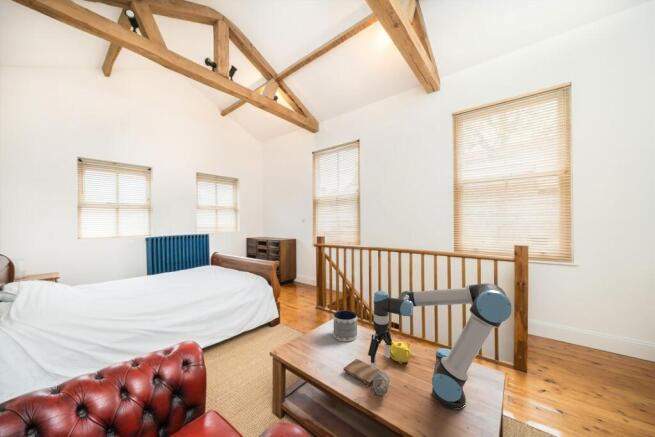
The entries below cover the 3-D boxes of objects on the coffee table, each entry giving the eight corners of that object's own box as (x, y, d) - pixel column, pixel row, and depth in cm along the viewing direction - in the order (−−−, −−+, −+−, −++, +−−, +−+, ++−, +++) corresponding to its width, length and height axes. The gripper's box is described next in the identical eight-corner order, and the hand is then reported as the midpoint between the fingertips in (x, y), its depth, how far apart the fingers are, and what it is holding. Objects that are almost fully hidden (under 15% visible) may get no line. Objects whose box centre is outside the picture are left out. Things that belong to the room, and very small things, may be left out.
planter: (350, 344, 171) (350, 321, 171) (329, 337, 181) (329, 316, 181) (361, 334, 186) (361, 313, 186) (340, 328, 196) (340, 308, 196)
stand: (382, 376, 137) (382, 371, 137) (369, 388, 127) (369, 382, 127) (356, 363, 149) (356, 358, 149) (343, 373, 139) (343, 368, 139)
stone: (368, 399, 119) (368, 379, 119) (375, 381, 132) (375, 363, 132) (386, 404, 116) (386, 384, 116) (391, 386, 129) (391, 367, 129)
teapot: (399, 348, 166) (399, 332, 166) (421, 361, 151) (421, 343, 151) (378, 357, 155) (378, 340, 155) (400, 372, 140) (400, 353, 140)
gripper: (386, 313, 136) (385, 350, 136) (361, 327, 118) (360, 370, 118) (398, 316, 131) (398, 355, 131) (374, 332, 113) (373, 377, 113)
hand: (380, 362), depth 124 cm, fingers open, 13 cm apart
